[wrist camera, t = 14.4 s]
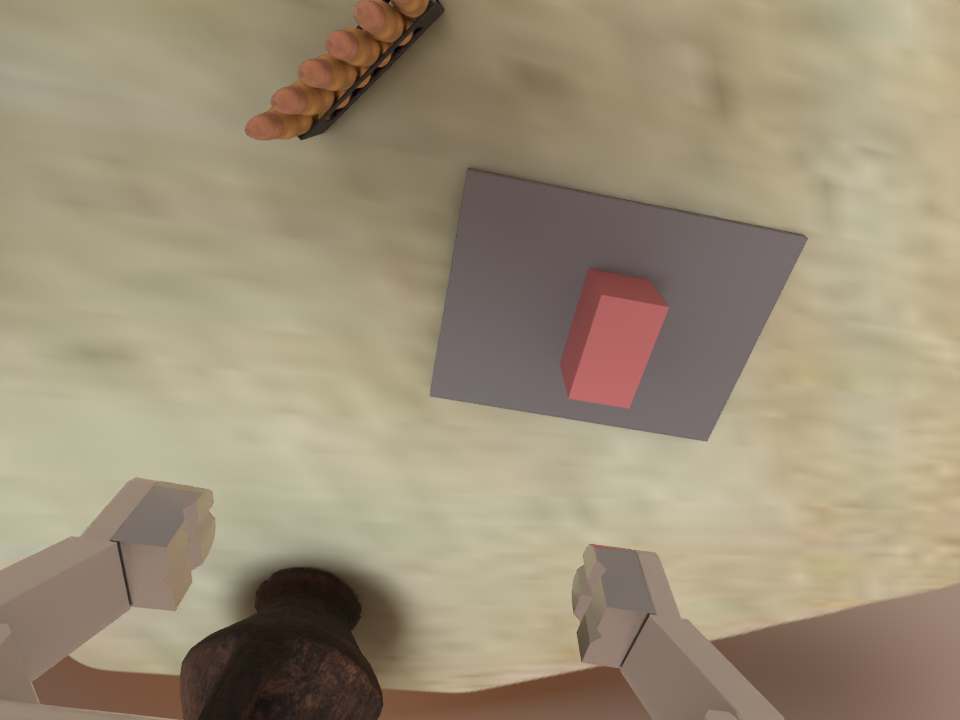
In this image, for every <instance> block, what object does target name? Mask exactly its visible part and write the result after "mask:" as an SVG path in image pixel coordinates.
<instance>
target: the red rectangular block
mask: <svg viewBox="0 0 960 720" xmlns="http://www.w3.org/2000/svg"><path fill="white" fill-rule="evenodd" d="M668 309H669V306H668V305H667V304H666V302H665V301H664V300H663V298H662V297H661V296H660V294H659V293H658V292H657V290H656V289H655V288H654V286H653V285H652V284H651V282H650V281H649V280H647V279H642V278H636V277H631V276H626V275H620V274H615V273H610V272H604V271H599V270H594V269H588V272H587V275H586V278H585V282H584V285H583V288H582V292H581V295H580V298H579V302H578V305H577V308H576V312H575V315H574V318H573V322H572V325H571V328H570V332H569V335H568V338H567V342H566V345H565V348H564V352H563V355H562V358H561V361H560V367H561V371H562V375H563V379H564V383H565V387H566V391H567V395H568V399H574V400H580V401H586V402H592V403H598V404H604V405H610V406H616V407H622V408H628V409H629V408H630V406H631V403H632V401H633V398H634V396H635V393H636V390H637V388H638V385H639V383H640V380H641V378H642V375H643V373H644V370H645V368H646V365H647V362H648V360H649V357H650V355H651V352H652V350H653V347H654V345H655V342H656V340H657V337H658V334H659V332H660V329H661V327H662V324H663V322H664V319H665V317H666V314H667V311H668Z"/></svg>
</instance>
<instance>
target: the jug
mask: <svg viewBox="0 0 960 720" xmlns="http://www.w3.org/2000/svg"><path fill="white" fill-rule="evenodd" d="M357 595H358V594H357ZM255 607H256V610H257V613H256V614H254V615H252V616H250V617H248V618H246V619H244V620H242V621H240V622H237V623H235V624H233V625H231V626H228V627H226V628H224V629H221V630H219V631H217V632H215V633H213V634H211V635H209V636H207V637H206V638H205V639H203V640H202V641H200V642H199V643H198V644H196V645H195V646H194V647H192V648H191V649H190V650H189V652H188V653H187V655H186V657H185V658H184V660H183V662H182V667H181V674H180V697H181V704H182V711H183V719H184V720H377V719H378V718H379V716H380V713H381V710H382V706H383V697H382V691H381V688H380V685H379V683H378V680H377V678H376V676H375V674H374V672H373V669H372V667H371V665H370V663H369V662H368V661H367V659H366V658H365V657H364V656H363V655H362V653H361V651H360V649H359V647H358V645H357V643H356V641H355V639H354V637H353V635H352V633H351V631H352V630H353V628H354V627H355V626H356V624H357V623H358V621H359V619H360V618H361V617H360V613H361V604H359V603H358V599H357V597H356V596H355V594H354V593H353V592H352V590H351V589H349V588H348V587H347V586H346V585H344V584H343V583H342V582H341V581H340V580H338V579H337V578H334V577H333V576H331V575H329V574H327V573H323V572H319V571H315V570H304V569H287V570H281V571H279V572H277V573H274V574H273V575H272V576H271V577H270V579H269V581H268V580H266V581H264V582H263V583H262V584H261V586H260V587H259V588H258V590H257V591H256V600H255Z"/></svg>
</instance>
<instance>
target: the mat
mask: <svg viewBox="0 0 960 720" xmlns="http://www.w3.org/2000/svg"><path fill="white" fill-rule="evenodd" d="M807 239H808V238H807V237H805V236H804V235H801V234H796V233H791V232H786V231H781V230H776V229H771V228H766V227H761V226H756V225H751V224H746V223H741V222H736V221H731V220H726V219H721V218H716V217H710V216H705V215H700V214H695V213H690V212H685V211H680V210H675V209H670V208H665V207H660V206H655V205H650V204H645V203H640V202H635V201H630V200H625V199H620V198H615V197H610V196H605V195H600V194H595V193H590V192H585V191H580V190H575V189H570V188H565V187H560V186H555V185H550V184H545V183H540V182H535V181H530V180H525V179H520V178H515V177H509V176H504V175H499V174H494V173H489V172H484V171H479V170H474V169H469V168H468V171H467V177H466V182H465V188H464V194H463V200H462V206H461V212H460V218H459V224H458V230H457V236H456V242H455V248H454V254H453V260H452V266H451V272H450V278H449V283H448V289H447V295H446V301H445V307H444V313H443V319H442V325H441V331H440V337H439V343H438V349H437V355H436V361H435V367H434V373H433V378H432V384H431V390H430V396H432V397H438V398H444V399H450V400H456V401H462V402H468V403H474V404H481V405H487V406H493V407H499V408H505V409H511V410H517V411H523V412H530V413H536V414H542V415H548V416H554V417H560V418H566V419H572V420H578V421H585V422H591V423H597V424H603V425H609V426H615V427H621V428H627V429H633V430H640V431H646V432H652V433H658V434H664V435H670V436H676V437H682V438H689V439H695V440H701V441H708V438H709V436H710V434H711V432H712V430H713V428H714V426H715V424H716V422H717V420H718V418H719V416H720V414H721V412H722V410H723V408H724V406H725V404H726V402H727V400H728V398H729V396H730V394H731V392H732V390H733V388H734V386H735V384H736V382H737V380H738V378H739V376H740V374H741V372H742V370H743V368H744V366H745V364H746V362H747V360H748V358H749V356H750V354H751V352H752V350H753V348H754V346H755V344H756V342H757V340H758V338H759V336H760V334H761V332H762V330H763V328H764V326H765V324H766V322H767V320H768V318H769V316H770V314H771V312H772V310H773V308H774V306H775V304H776V302H777V300H778V298H779V296H780V294H781V291H782V289H783V287H784V285H785V283H786V281H787V279H788V277H789V275H790V273H791V271H792V269H793V267H794V265H795V263H796V261H797V259H798V257H799V255H800V253H801V251H802V249H803V247H804V245H805V243H806V241H807ZM588 269H594V270H599V271H604V272H610V273H615V274H620V275H626V276H631V277H636V278H642V279H647V280H649V281H650V282H651V284H652V285H653V286H654V288H655V289H656V290H657V292H658V293H659V294H660V296H661V297H662V298H663V300H664V301H665V302H666V304H667V305H668V306H669V309H668V311H667V314H666V317H665V319H664V322H663V324H662V327H661V329H660V332H659V334H658V337H657V340H656V342H655V345H654V347H653V350H652V352H651V355H650V357H649V360H648V362H647V365H646V368H645V370H644V373H643V375H642V378H641V380H640V383H639V385H638V388H637V390H636V393H635V396H634V398H633V401H632V403H631V406H630V408H629V409H628V408H622V407H616V406H610V405H604V404H598V403H592V402H586V401H580V400H574V399H568V395H567V391H566V387H565V383H564V379H563V375H562V371H561V367H560V361H561V358H562V355H563V352H564V348H565V345H566V342H567V338H568V335H569V332H570V328H571V325H572V322H573V318H574V315H575V312H576V308H577V305H578V302H579V298H580V295H581V292H582V288H583V285H584V282H585V278H586V275H587V272H588Z"/></svg>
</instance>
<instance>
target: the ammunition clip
mask: <svg viewBox="0 0 960 720" xmlns="http://www.w3.org/2000/svg"><path fill="white" fill-rule="evenodd" d="M390 1H391V2H392V4H393V6H394V7H393V6H391V5H389V4H388V3H389V2H390ZM443 12H444V8H443V6H442V5H441V3H440V2H439V1H438V0H382V1H381V0H374V1H371V0H363V1H361V2H358V3H357V5H356V6H355V8H354V17H355V20H356V22H357V24H358V26H357V27H356V28H347V29H345V30H337V31H334V32H332V33H330V34H329V35H328V36H327V38H326V40H325V46H326V49H327V50H328V52H329V53H330V54H331V55H329V54H324V55H322V56H319V57H318V58H315V59H310V60H308V61H305V62H303V63H302V64H301V65H300V67H299V69H298V77H299V78H300V81H298V82H295V83H294V84H293V85H291V86H288V87H284V88H282V89H280V90H278V91H277V92H276V93H275V94H274V95H273V96H272V98H271V105H272V108H270V109H269V110H268V111H267V112H264V113H262V114H259V115H257V116H255V117H253V118H252V119H251V120H250V121H249V122H248V123H247V125H246V127H245V132H246V134H247V135H248V136H249V137H251V138H254V139H256V140H271V139H289V138H292V137H295V136H297V137H298V138H299V139H300V140H304V139H307V138H310V137H313V136H316V135H319V134H322V133H324V132H325V131H326V130H327V129H328V128H329V127H330V126H331V125H332V124H333V123H334V122H335V121H336V120H337V119H338V118H339V117H340V116H341V115H342V114H343V113H344V112H345V111H346V110H347V109H348V108H349V107H350V106H351V105H352V104H353V103H354V102H355V101H356V100H357V99H358V98H359V97H360V96H361V95H362V94H363V93H364V92H365V91H366V90H367V89H368V88H369V87H370V86H371V85H372V84H373V83H374V82H375V81H376V80H377V79H378V78H379V77H380V76H381V75H382V74H383V73H384V72H385V71H386V70H387V69H388V68H389V67H390V66H391V65H392V64H393V63H394V62H395V61H396V60H397V59H398V58H399V57H400V56H401V55H402V54H403V53H404V52H405V51H406V50H407V49H408V48H409V47H410V46H411V45H412V44H413V43H414V42H415V41H416V40H417V39H418V38H419V37H420V36H421V35H422V34H423V33H424V31H425V30H426V29H427V28H428V27H429V26H430V25H431V24H432V23H433V22H434V21H435V20H436V19H437V18H438V17H439V16H440V15H441V14H442V13H443ZM364 30H365V31H364Z"/></svg>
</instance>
